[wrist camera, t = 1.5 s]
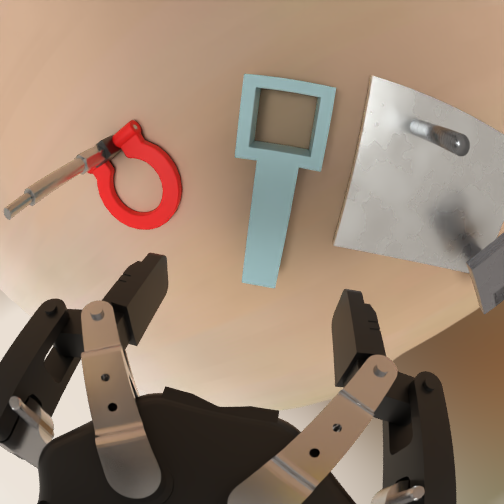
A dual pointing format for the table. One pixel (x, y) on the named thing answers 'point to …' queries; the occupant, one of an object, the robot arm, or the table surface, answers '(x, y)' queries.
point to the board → (421, 183)
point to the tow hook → (102, 169)
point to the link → (276, 172)
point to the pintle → (441, 136)
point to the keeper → (488, 274)
